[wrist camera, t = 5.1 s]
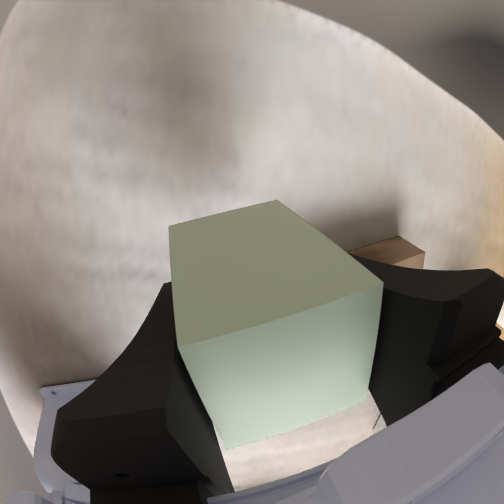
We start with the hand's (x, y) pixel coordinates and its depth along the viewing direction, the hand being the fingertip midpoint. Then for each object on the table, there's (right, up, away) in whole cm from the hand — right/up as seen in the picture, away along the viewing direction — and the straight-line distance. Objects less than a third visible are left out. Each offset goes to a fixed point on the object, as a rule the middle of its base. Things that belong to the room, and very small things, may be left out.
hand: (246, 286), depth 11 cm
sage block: (-1, +1, +2) cm, 2 cm away
